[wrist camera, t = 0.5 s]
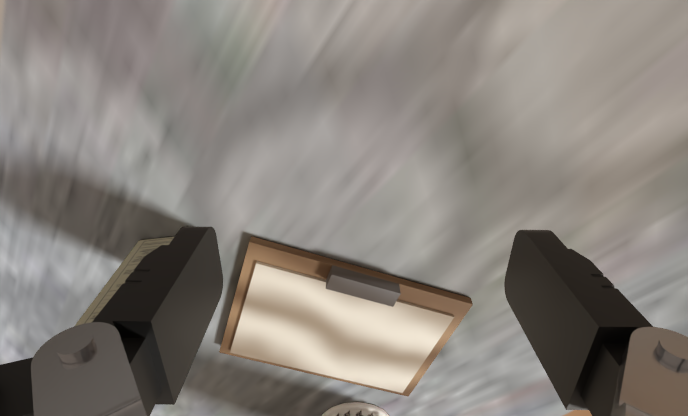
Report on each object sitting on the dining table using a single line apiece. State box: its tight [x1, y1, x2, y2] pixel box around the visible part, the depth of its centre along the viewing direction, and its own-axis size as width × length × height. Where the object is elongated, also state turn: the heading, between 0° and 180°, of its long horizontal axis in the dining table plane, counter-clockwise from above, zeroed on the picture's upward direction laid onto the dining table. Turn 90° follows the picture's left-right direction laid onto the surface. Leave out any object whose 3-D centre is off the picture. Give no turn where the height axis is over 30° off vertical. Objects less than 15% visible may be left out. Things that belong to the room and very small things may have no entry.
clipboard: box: [219, 236, 473, 396], centre depth 37 cm, size 14×20×2 cm
